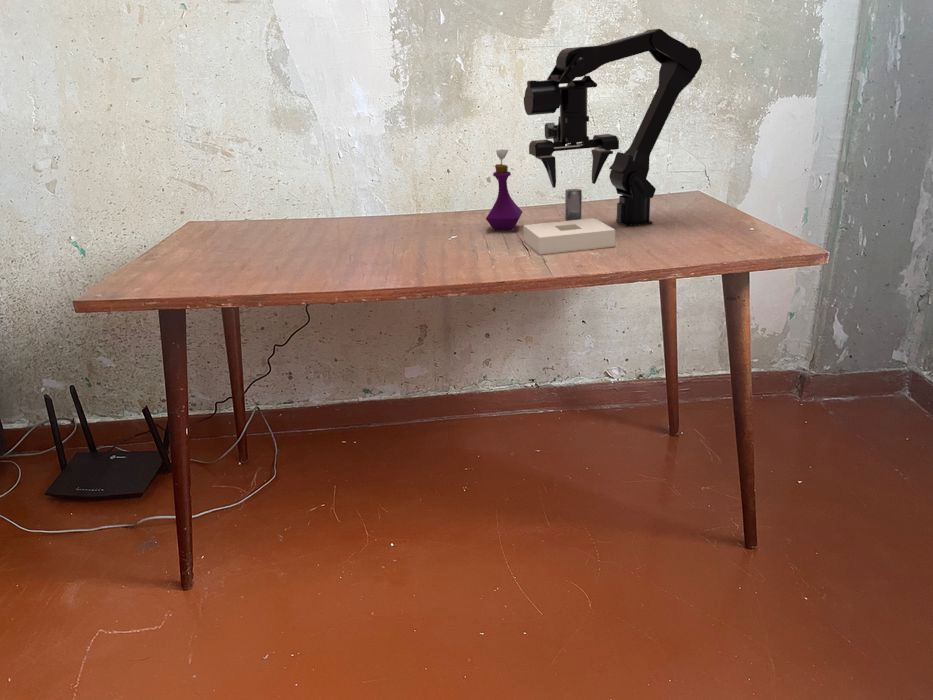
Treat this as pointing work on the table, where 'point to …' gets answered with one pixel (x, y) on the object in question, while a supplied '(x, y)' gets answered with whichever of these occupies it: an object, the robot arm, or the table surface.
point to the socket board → (569, 236)
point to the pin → (573, 204)
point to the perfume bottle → (503, 201)
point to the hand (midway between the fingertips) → (573, 185)
